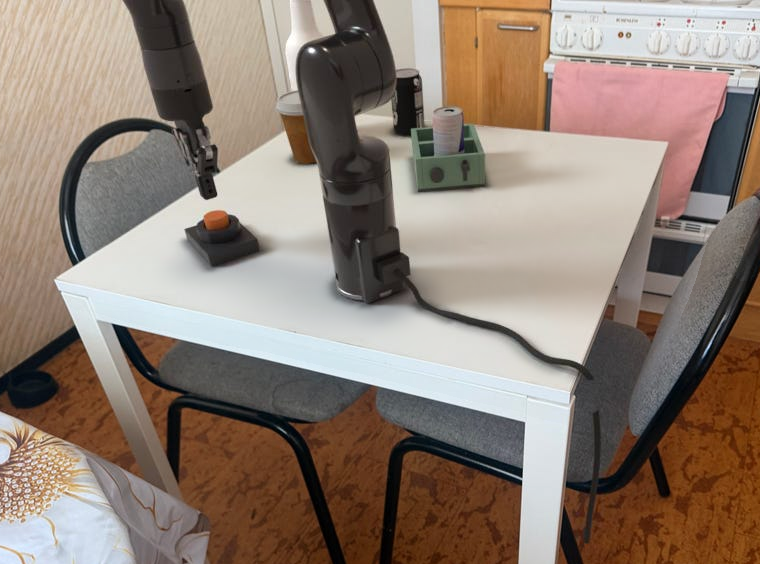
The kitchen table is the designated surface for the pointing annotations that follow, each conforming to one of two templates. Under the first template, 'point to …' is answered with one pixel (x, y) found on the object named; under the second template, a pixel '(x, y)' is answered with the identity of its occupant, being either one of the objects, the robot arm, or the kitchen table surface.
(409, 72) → the beverage can
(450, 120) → the energy drink
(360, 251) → the robot arm
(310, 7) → the alcohol
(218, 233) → the control box
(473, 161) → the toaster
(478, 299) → the kitchen table surface
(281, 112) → the disposable coffee cup
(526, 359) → the kitchen table surface
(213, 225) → the button
